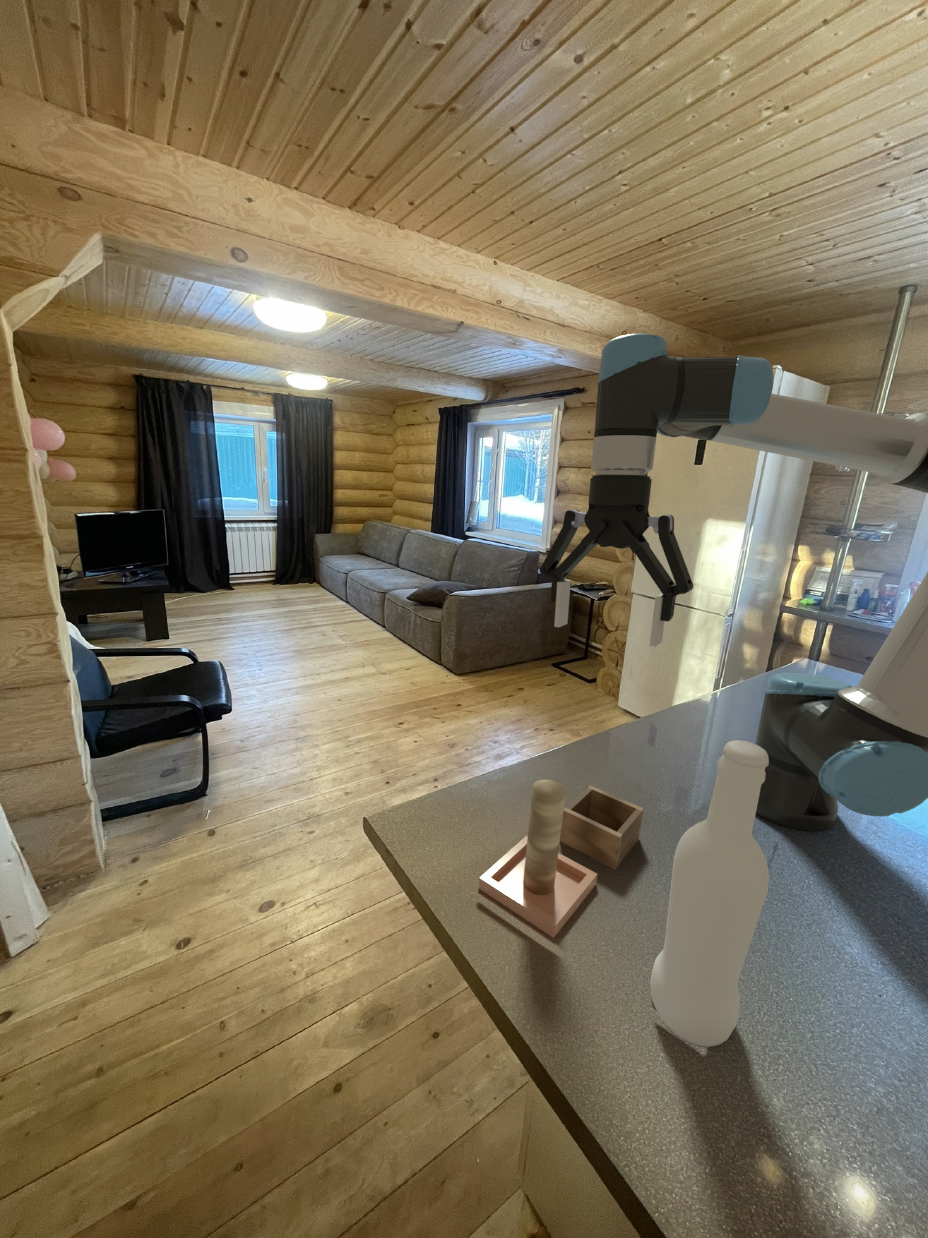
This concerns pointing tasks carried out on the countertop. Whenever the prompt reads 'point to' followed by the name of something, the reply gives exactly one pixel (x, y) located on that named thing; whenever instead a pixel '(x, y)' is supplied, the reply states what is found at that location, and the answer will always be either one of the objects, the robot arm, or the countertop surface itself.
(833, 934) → the countertop surface
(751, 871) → the bottle
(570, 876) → the tray
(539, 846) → the dowel
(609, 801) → the small wooden box
